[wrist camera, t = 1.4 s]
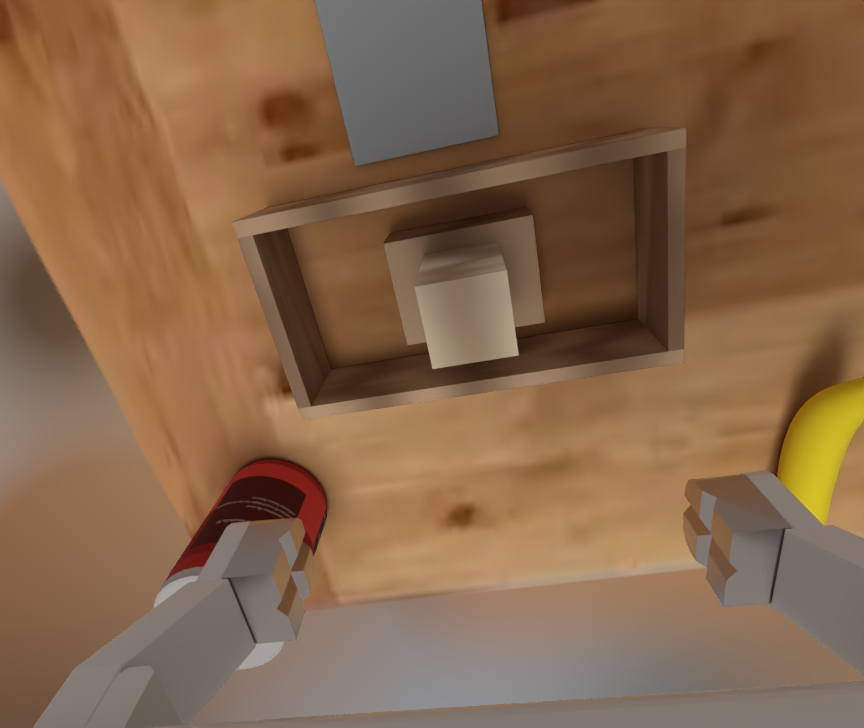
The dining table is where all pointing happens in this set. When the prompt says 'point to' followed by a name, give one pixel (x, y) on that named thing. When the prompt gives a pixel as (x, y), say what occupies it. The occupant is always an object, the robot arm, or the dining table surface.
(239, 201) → the dining table surface
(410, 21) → the mat
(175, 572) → the canned food
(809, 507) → the banana
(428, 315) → the block
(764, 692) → the robot arm
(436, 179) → the crate
